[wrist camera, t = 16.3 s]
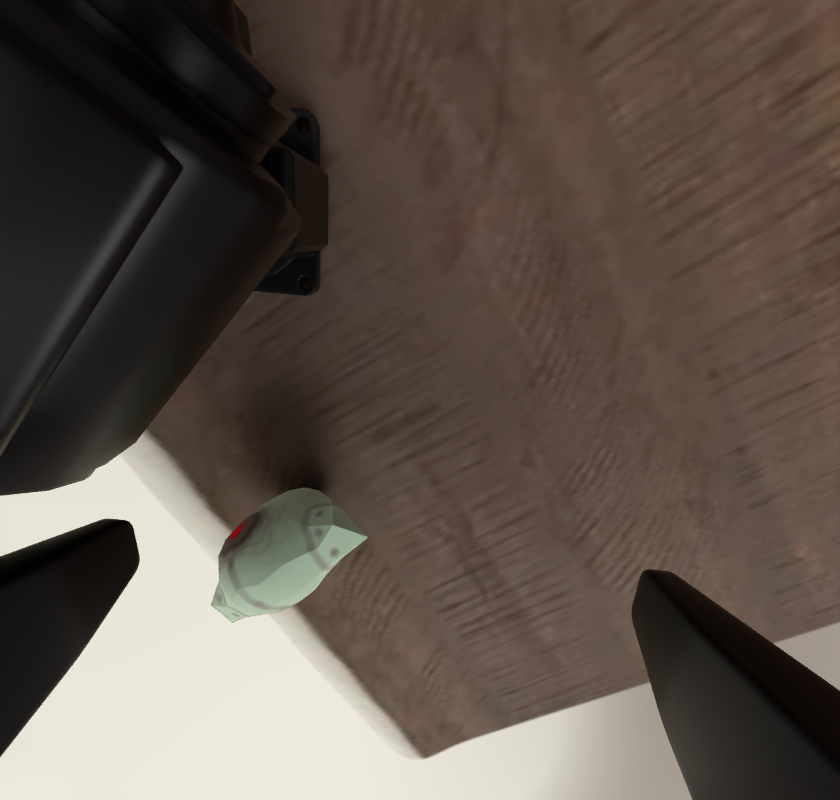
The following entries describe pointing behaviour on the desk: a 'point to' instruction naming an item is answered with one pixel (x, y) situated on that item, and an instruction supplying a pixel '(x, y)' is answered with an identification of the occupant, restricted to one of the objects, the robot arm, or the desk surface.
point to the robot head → (282, 553)
